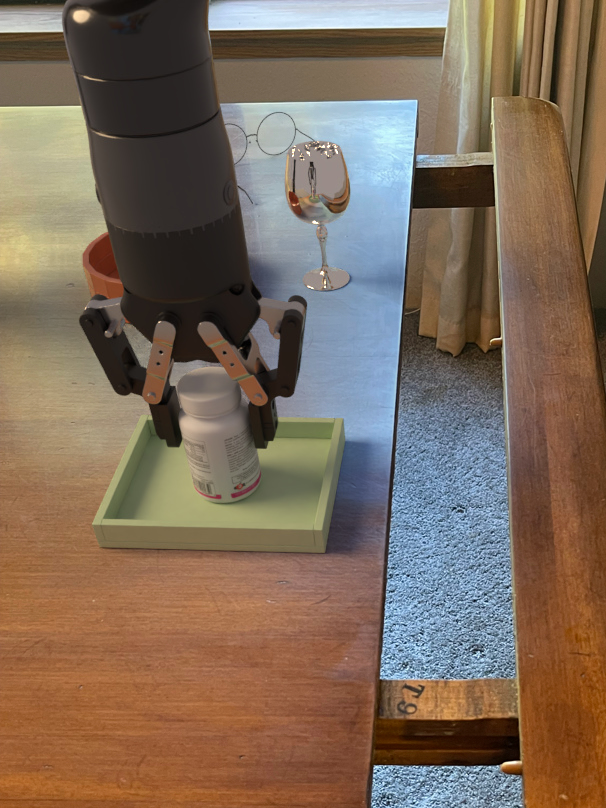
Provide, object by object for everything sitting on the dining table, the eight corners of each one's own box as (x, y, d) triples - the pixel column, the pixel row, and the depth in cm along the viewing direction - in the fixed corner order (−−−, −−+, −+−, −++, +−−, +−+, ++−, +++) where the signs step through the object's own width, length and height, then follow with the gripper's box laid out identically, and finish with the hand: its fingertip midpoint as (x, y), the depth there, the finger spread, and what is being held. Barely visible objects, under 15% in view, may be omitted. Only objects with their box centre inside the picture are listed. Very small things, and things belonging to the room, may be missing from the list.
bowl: (74, 324, 85) (62, 283, 82) (116, 255, 94) (106, 216, 92) (219, 325, 84) (212, 284, 81) (247, 256, 93) (241, 217, 91)
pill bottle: (260, 458, 69) (243, 358, 63) (264, 500, 65) (247, 399, 60) (193, 466, 68) (171, 367, 63) (194, 509, 65) (170, 408, 59)
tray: (99, 547, 63) (91, 524, 62) (147, 436, 72) (141, 414, 71) (325, 553, 62) (322, 529, 61) (345, 440, 71) (343, 417, 70)
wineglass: (358, 292, 88) (349, 162, 79) (295, 296, 87) (280, 166, 79) (355, 262, 92) (346, 136, 84) (295, 266, 92) (281, 140, 83)
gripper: (308, 169, 55) (331, 410, 66) (66, 170, 56) (131, 407, 67) (288, 227, 49) (317, 478, 61) (20, 227, 50) (99, 474, 62)
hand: (219, 440), depth 64 cm, fingers open, 5 cm apart
